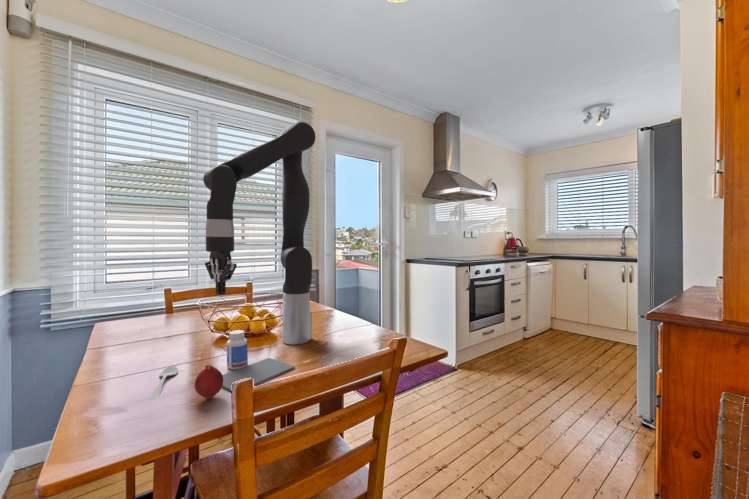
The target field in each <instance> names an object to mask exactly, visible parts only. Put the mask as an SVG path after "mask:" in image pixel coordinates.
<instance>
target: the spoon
mask: <svg viewBox="0 0 749 499" xmlns="http://www.w3.org/2000/svg"><path fill="white" fill-rule="evenodd" d="M178 372H179V368H178V367H177V366H176V365H169V366H166V367H165V368H164V369H163V370H162V371H161V373H160V374H159V377H161V380H160V381H159V384H157V386H156V387H155V389H154V390H153V392H152V393H151V395H150V396H149V397H148V398H149V400H150V401H154V400H156V399H157V398H159V397H160V395H161V392H162V388H163V385H164V382H165V380H166V379H167V378H168V377H173V376H175V375H177V374H179V373H178Z"/></svg>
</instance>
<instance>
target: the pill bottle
mask: <svg viewBox="0 0 749 499" xmlns="http://www.w3.org/2000/svg"><path fill="white" fill-rule="evenodd" d="M245 336H246V334H245V330H242V329H236V330H231V331H229V332H228V338H229V339H228V340H227V341H226V367H227V369H229V370H238V369H240V368H243V367H246V366H248V365H249V364H248V363H249V360H248V357H249V355H248V340H247V338H246V337H245Z"/></svg>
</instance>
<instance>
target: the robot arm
mask: <svg viewBox="0 0 749 499" xmlns="http://www.w3.org/2000/svg"><path fill="white" fill-rule="evenodd" d="M315 143H316V132H315V130H314V128H313V127H312V125H310V123H307V122H304V121H298V122H294V123H292V124H290V125H288V126H286V127H284V129H282V131H281V134H280V136H278V137H277V136H276V137H275V138H274V139H271V140H268V141H267V142H264V143H262V144H259V145H257V146H255V147H252V148H249V149H248V150H245V151H243V152H242V153H240V154H237V155H235V156H234V157H233V158H231V159H229V160H228V161H224V162H223V163H220V164H218V165H216V166H213V167H210V168H209V169H207V170H206V171H205V173H204V174H203V178H202V181H203V184H204V186H205V187H206V188H207V189H208V190H209V191H210V196H209V199H208V200H207V203H206V223H205V251H206V252H208V253H209V260H208V261H205V263H204V265H205V268H206V271H207V273H208V275H209V278H210V279H211V280H213V281H214V282H215V295H218V296H221V295H222V296H223V295H225V294H226V292H227V291H226V285H227V284H226V282H227V281H230V280H231V278H232V277H233V274H234V273H235V270H236V268H237V266H238V265H237V263H233V262H232V255H231V253H232V252H234V251H235V225H234V203H235V202H234V201H235V197H236V191H237V183H238V182H240V181H242V180H244V179H248V178H250V177H252V176H254V175H256V174H258V173H260V172H262V171H263V170H265V169H266V168H268V167H270V166H271V165H274V163H277V162H278V161H280V160H282V195H281V196H282V202H281V204H282V208H281V209H282V229H283V230H282V232H283V233H282V244H281V251H280V264H281V266H282V267H283V269H285V270H284V271H285V272H284V273H285V274H284V275H285V276H284V277H285V278H284V282H283V285H282V342H283V343H284V344H286V345H302V344H306V343H308V342H309V341H311V340H312V338H313V336H312V335H313V332H312V331H313V328H312V327H313V323H312V322H313V316H312V315H313V314H312V311H310V310H311V292H310V291H311V285H312V279H313V276H312V275H313V258H312V254H311V252H310V251H309V250H308V249H307V248H305V243H304V242H305V241H304V235H305V234H304V232H305V227H306V223H307V221H308V217H309V213H310V212H309V211H310V197H311V196H310V195H311V194H310V188H309V184H308V181H307V179H306V177H305V174H304V172H303V157H302V156H303V152H304V151H307V150H309V149H311V147H313V145H314V144H315Z"/></svg>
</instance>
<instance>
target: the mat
mask: <svg viewBox="0 0 749 499" xmlns="http://www.w3.org/2000/svg"><path fill="white" fill-rule="evenodd" d="M293 368H294V369H295V368H296V366H295V365H291V364H289V363H286V362H283V361H280V360H277V359H273V358H270V357H268V358H265V359H262V360H259V361H257V362H254V363H251V364H247V366H246V367H243V368H240V369H234V370H233V371H232V370H231V371H230V372H228V373H224V374H222V375H223V386H222V388H221V389H224V390H226V391H229V392H230V393H232V392H231V385H232V383H233V382H235V381H238V380H240V379H244V378H250V377H251V378H253V379H254V386H253V387H256V386H258V385H260V384H262V383H264V382H266V381H269V380H271V378H272V379H273V377H274V378H276V377H278V376H281V375H283V374H285V373H287V372H286V371H288V370H290V371H292V370H294V369H293ZM291 369H292V370H291ZM284 372H285V373H284ZM288 372H289V371H288ZM282 373H283V374H282ZM280 374H281V375H280ZM275 376H276V377H275ZM268 379H269V380H268Z"/></svg>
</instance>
